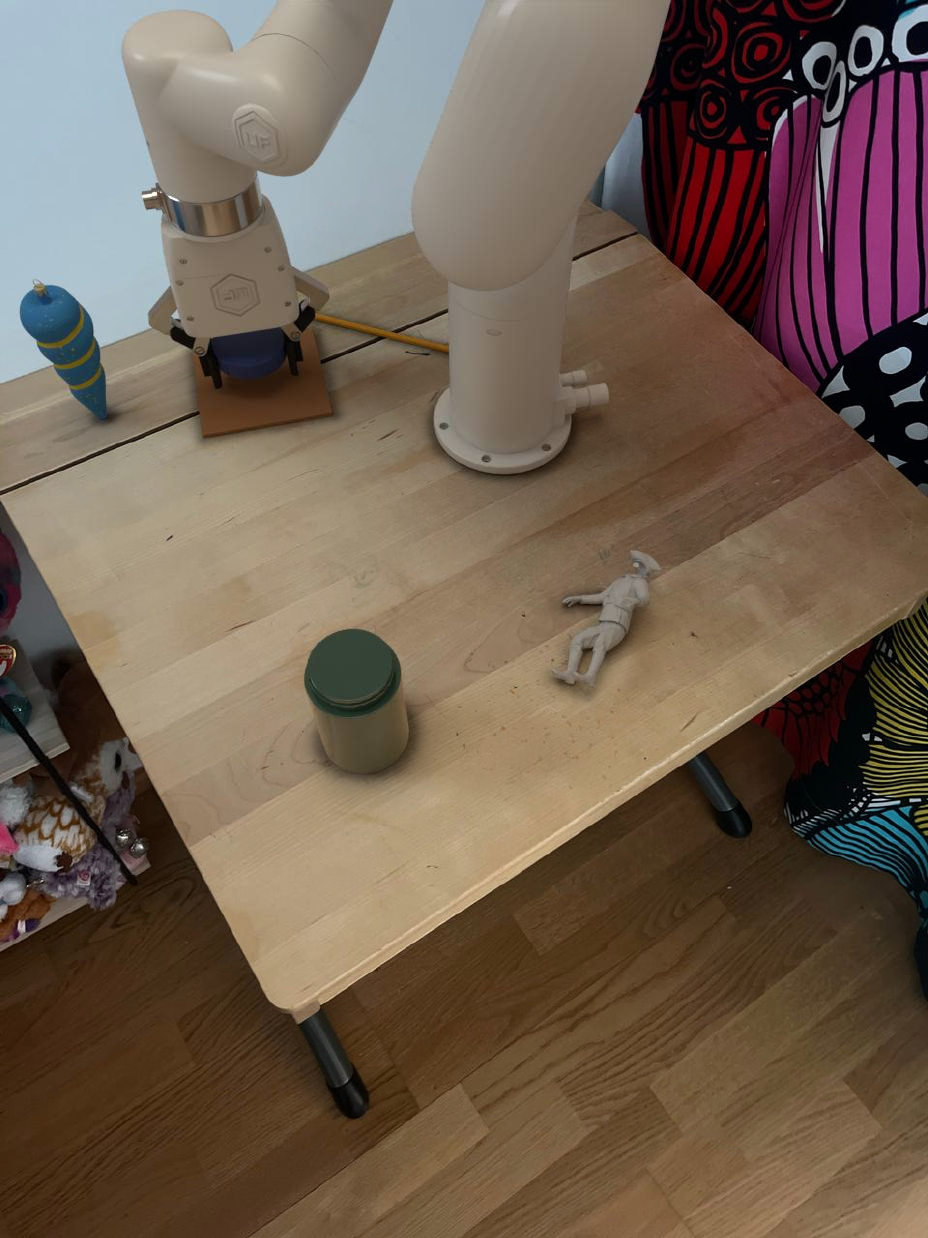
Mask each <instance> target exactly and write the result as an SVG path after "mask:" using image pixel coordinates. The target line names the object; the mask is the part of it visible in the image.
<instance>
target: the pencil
mask: <svg viewBox="0 0 928 1238" xmlns="http://www.w3.org/2000/svg"><path fill="white" fill-rule="evenodd" d="M314 321H318V322H323V323H326V324H331V325H335V326H339V327H343V328H347V329H350V330H354V331H357V332H362V333H365V334H371V335H374V336H378V337H382V338H386V339H390V340H395V341H399V342H402V343H406V344H411V345H415V346H418V347H422V348H427V349H431V350H434V351H439V352H443V353H446V354H449V345H445V344H441V343H438V342H433V341H430V340H425V339H422V338H417V337H413V336H409V335H405V334H402V333H398V332H393V331H389V330H385V329H381V328H377V327H373V326H370V325H365V324H361V323H357V322H354V321H349V320H345V319H341V318H337V317H334V316H333V317H332V316H329V315H325V314H321V313H316V317H315V319H314Z"/></svg>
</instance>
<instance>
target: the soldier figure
mask: <svg viewBox="0 0 928 1238" xmlns="http://www.w3.org/2000/svg"><path fill="white" fill-rule="evenodd" d="M629 553H630V555H631V563H632V566H633V567H634V570H635V571H636V573H637V574H636V573H625V574H622V575H620V576H619V578H617V579H615V580H614V581H613V582H612V583H610V585H609V586H608V587H607V588H606V589H604V590H603V591H601V592H600V593H595V594H581V595H574V596H568V597H566V598H565V599H563V600H562V601H561V603H562V604H565V603H566V604H568V603H569V602H570V603H569V604H568V607H571V606H572V605H574V604H576V603H578V602H579V603H580V604H581V605H583V604H584V605H585V604H586V605H601V604H602V605H601V606H602V610H601V613H600V616H599V618H598V622H599V623H598V625H595V626H589V627H587V628H585V629H584V630H582V631H580V632H578V633H576V635H574V637H573V639H572V640H571V641H570V645H569V646H568V651H569V652H568V653H569V654H568V658H569V659H568V663H567V668H566V669H565V670H563V671H562V670H561V671H560V670H558V669H556V668H552V669H551V670H550V672H551V674H552V675H553V677H555V678H557V679H559V680H563V681H564V682H565V683H566V684H568V685H575V682H577V683H582V684H583V685H584V686H585V687H587V688H590V689H594V688H595V685H596V676H597V675H598V673H599V670H600V667H601V666H602V664H603V663H604V660H605V656H606V653H607V651H610V650H612V649H613V648H614V647H616V646H618V644H620V643H621V641H622V640H623V639H624V638H625V636H626V635H628V632H629V631H630V630H629V629H630V625H631V620H632V615H633V610H634V608H635V607H640V608H643V607H647V606H648V605H649V604H650V603H651V594H650V585H649V583H648V580H647V579H649V578H650V577H651V575H652V573H654V572H662V571H663V570H662V569H663V568H661V566H660V565H659V563H658V562H657V561H656V560H655V558H653V557H652V556H650V555H649V554H647V553H644V551H643V552H642V551H639V550H634V549H633V550H632V549H629ZM646 578H647V579H646ZM583 649H592V653H593V654H592V657H591V661H590V664H589V667H588V670H587V671H586V672H585V673H583V674H580V673H579V672H578V670H579V666H580V663H581V659H582V656H583V654H584V653H583Z"/></svg>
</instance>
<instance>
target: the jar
mask: <svg viewBox="0 0 928 1238" xmlns="http://www.w3.org/2000/svg"><path fill="white" fill-rule="evenodd" d="M303 683H304V690H305V693H306V696H307V699H308V702H309V705H310V708H311V712H312V715H313V718H314V722H315V725H316V728H317V731H318V734H319V737H320V740H321V743H322V747H323V749H324V752H325V754H326V756H327V757H328V759H329V760H330V761H331V762H332V763H333V764H334V765H335V766H337V767H338V768H339V769H341V770H343V771H345V772H348V773H351V774H356V775H357V774H358V775H369V774H375V773H379V772H381V771H383V770H385V769H387V768H389V767H391V766H392V765H393V764H395V762H397V761H398V760H399V758H400V757H401V756H402V755H403V753H404V751H405V750H406V747H407V745H408V742H409V736H410V729H409V720H408V719H409V718H408V713H407V705H406V704H407V703H406V696H405V689H404V680H403V672H402V666H401V661H400V659H399V657H398V655H397V654H396V652H395V650H394V649H393V648H392V647H391V646H390V645H389V644H388V643H387V642H385V640H383V639H382V638H381V637H380V636H378V635H377V634H375V633H374V632H371V631H368V630H366V629H361V628H346V629H341V630H338V631H335V632H332V633H330V634H329V635H326V636H325V637H324V638H323V639H321V640H319V642H317V644H316V645H315V646H314V648H313V649H312V650H311V651H310V654H309V656H308V659H307V663H306V666H305V669H304V674H303Z"/></svg>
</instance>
